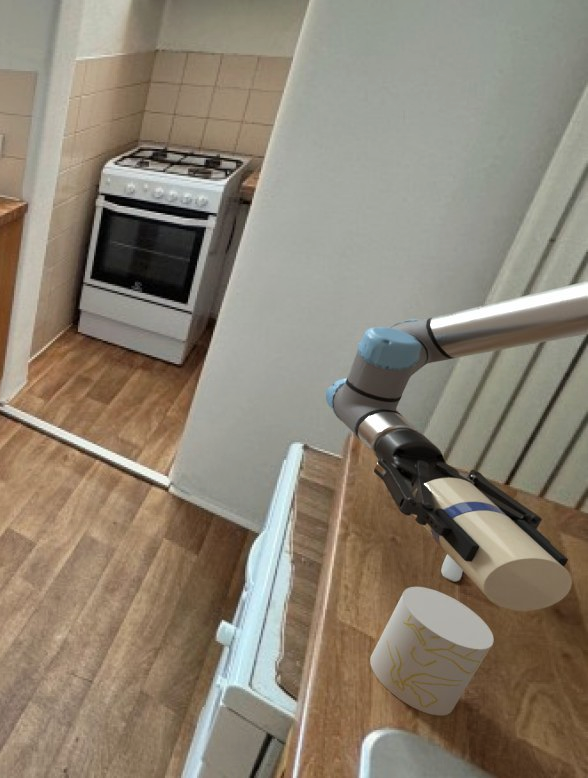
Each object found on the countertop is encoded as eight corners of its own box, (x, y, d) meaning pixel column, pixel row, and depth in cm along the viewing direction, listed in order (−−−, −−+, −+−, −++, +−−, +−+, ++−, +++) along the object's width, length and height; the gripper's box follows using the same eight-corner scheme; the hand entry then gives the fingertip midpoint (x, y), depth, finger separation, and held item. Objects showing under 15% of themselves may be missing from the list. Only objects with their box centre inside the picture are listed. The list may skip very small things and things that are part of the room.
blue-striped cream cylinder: (553, 617, 77) (585, 565, 74) (472, 604, 79) (500, 553, 75) (467, 529, 90) (491, 482, 87) (399, 519, 92) (420, 473, 89)
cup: (366, 680, 78) (399, 615, 73) (373, 638, 83) (405, 575, 79) (452, 730, 72) (494, 664, 68) (454, 682, 78) (493, 617, 73)
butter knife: (433, 570, 93) (460, 582, 91) (457, 491, 109) (480, 500, 107) (432, 573, 93) (458, 585, 91) (456, 493, 110) (479, 502, 107)
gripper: (467, 474, 98) (602, 596, 77) (319, 455, 102) (410, 566, 81) (486, 437, 95) (630, 553, 75) (333, 419, 99) (430, 524, 78)
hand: (515, 560), depth 78 cm, fingers closed on blue-striped cream cylinder, 9 cm apart
